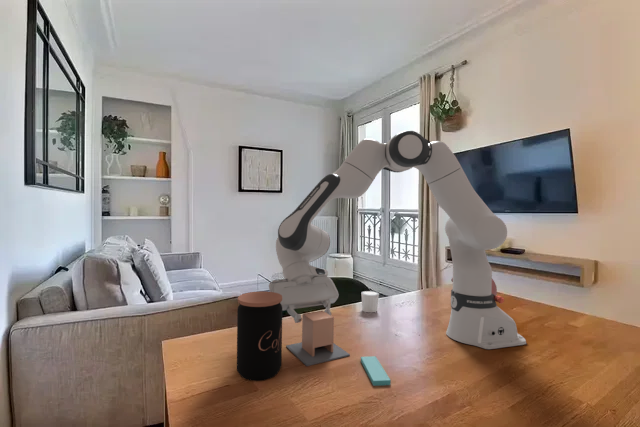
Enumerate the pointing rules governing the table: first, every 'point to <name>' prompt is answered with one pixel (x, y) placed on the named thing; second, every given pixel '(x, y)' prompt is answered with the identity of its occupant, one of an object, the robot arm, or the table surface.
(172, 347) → the table surface
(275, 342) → the coffee jar
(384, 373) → the stick
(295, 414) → the table surface
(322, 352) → the pad
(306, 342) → the cover
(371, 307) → the white cylinder
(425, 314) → the table surface
